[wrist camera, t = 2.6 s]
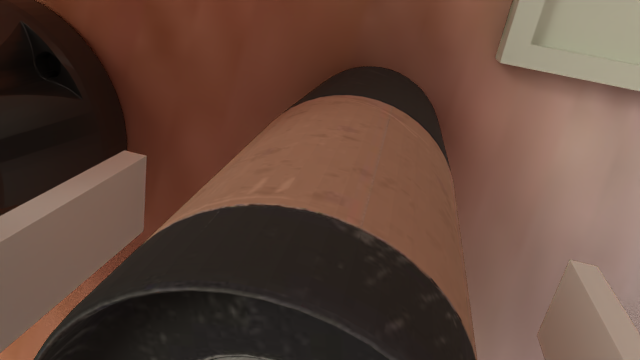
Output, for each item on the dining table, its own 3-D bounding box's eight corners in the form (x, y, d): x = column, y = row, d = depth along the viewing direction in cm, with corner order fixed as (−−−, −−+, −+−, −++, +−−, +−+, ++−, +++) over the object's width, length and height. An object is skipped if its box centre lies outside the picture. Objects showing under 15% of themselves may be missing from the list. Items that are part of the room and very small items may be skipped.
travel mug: (476, 142, 25) (627, 573, 7) (363, 227, 28) (250, 691, 9) (374, 26, 24) (218, 155, 6) (268, 127, 27) (-66, 433, 8)
